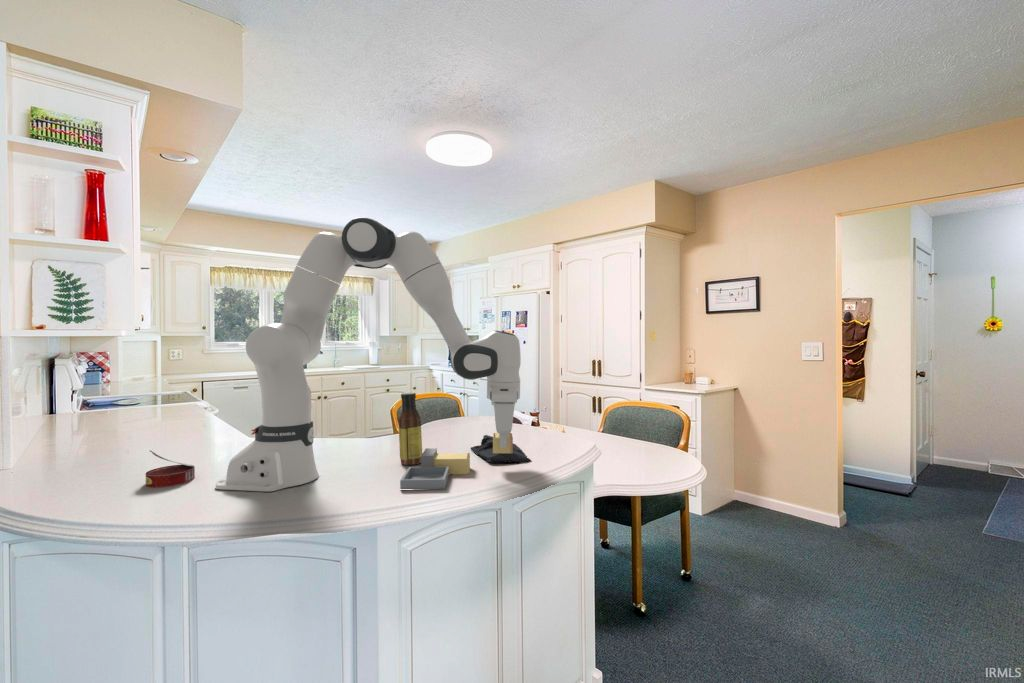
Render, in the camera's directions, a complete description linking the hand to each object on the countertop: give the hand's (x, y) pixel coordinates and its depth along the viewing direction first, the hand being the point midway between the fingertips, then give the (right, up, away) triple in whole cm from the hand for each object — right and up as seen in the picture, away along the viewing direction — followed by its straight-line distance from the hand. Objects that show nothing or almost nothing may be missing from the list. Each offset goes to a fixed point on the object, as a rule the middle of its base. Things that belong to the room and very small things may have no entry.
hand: (502, 443), depth 122 cm
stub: (0, -2, 0) cm, 2 cm away
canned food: (-83, -8, -8) cm, 83 cm away
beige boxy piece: (-15, -7, -1) cm, 16 cm away
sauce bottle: (-26, -7, +8) cm, 28 cm away
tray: (-18, -7, -10) cm, 22 cm away
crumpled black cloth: (-1, -8, +17) cm, 18 cm away
